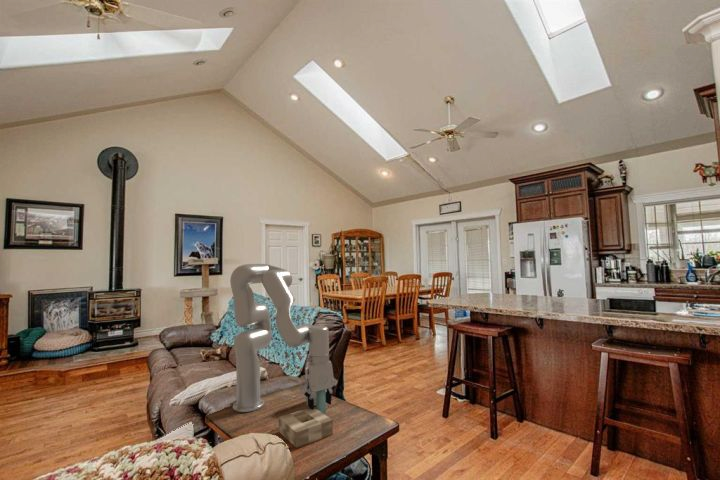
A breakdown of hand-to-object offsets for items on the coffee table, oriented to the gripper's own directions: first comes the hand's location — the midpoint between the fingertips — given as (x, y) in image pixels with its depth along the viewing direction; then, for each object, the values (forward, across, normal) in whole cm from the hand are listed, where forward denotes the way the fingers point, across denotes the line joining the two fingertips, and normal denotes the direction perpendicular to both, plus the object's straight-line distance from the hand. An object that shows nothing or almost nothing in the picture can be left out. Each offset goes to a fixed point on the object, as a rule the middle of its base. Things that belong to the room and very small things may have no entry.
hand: (319, 405), depth 133 cm
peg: (+5, +1, 0) cm, 5 cm away
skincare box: (+5, +6, +14) cm, 16 cm away
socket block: (+5, -9, -6) cm, 12 cm away
